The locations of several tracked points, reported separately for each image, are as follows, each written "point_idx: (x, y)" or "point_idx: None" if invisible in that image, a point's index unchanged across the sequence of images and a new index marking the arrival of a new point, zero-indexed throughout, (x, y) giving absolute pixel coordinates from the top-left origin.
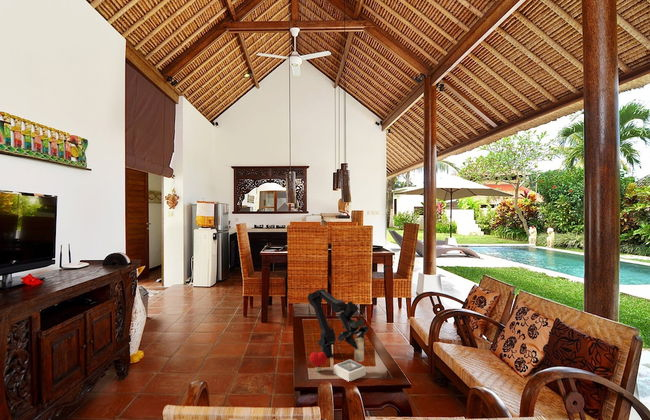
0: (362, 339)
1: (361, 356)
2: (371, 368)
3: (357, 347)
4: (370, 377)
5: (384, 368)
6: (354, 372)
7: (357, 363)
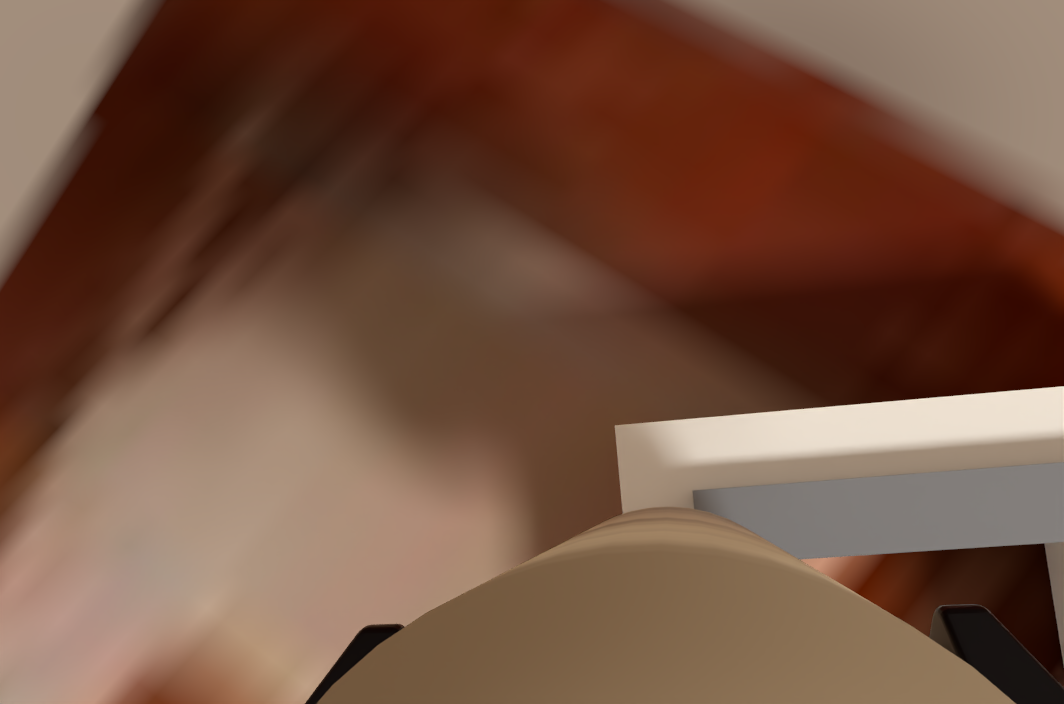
0: (519, 690)
1: (704, 514)
2: (317, 606)
3: (961, 641)
4: (615, 298)
5: (111, 449)
6: (1031, 390)
7: None
